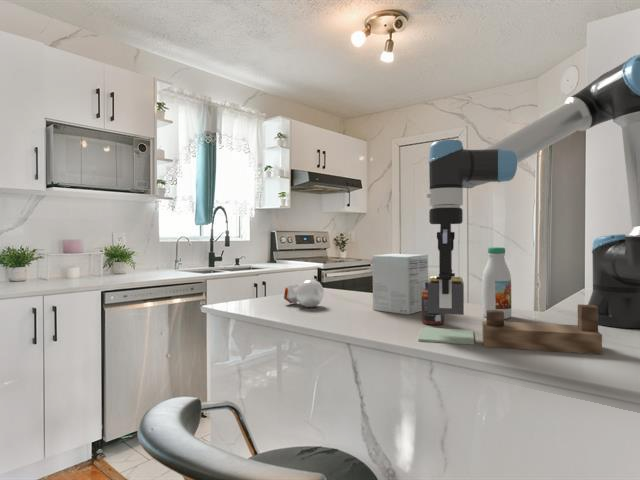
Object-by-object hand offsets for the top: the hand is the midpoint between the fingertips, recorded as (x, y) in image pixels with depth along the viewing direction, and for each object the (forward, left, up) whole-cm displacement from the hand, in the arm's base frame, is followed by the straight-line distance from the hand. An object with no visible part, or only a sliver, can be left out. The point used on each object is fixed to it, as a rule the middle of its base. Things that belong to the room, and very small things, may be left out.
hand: (445, 305), depth 101 cm
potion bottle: (+47, -30, -8) cm, 57 cm away
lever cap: (0, 0, -2) cm, 2 cm away
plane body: (-19, +3, -7) cm, 21 cm away
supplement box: (+15, -32, -8) cm, 36 cm away
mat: (0, 0, -7) cm, 7 cm away
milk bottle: (-13, -27, -8) cm, 31 cm away
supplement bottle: (+4, -14, -8) cm, 16 cm away
